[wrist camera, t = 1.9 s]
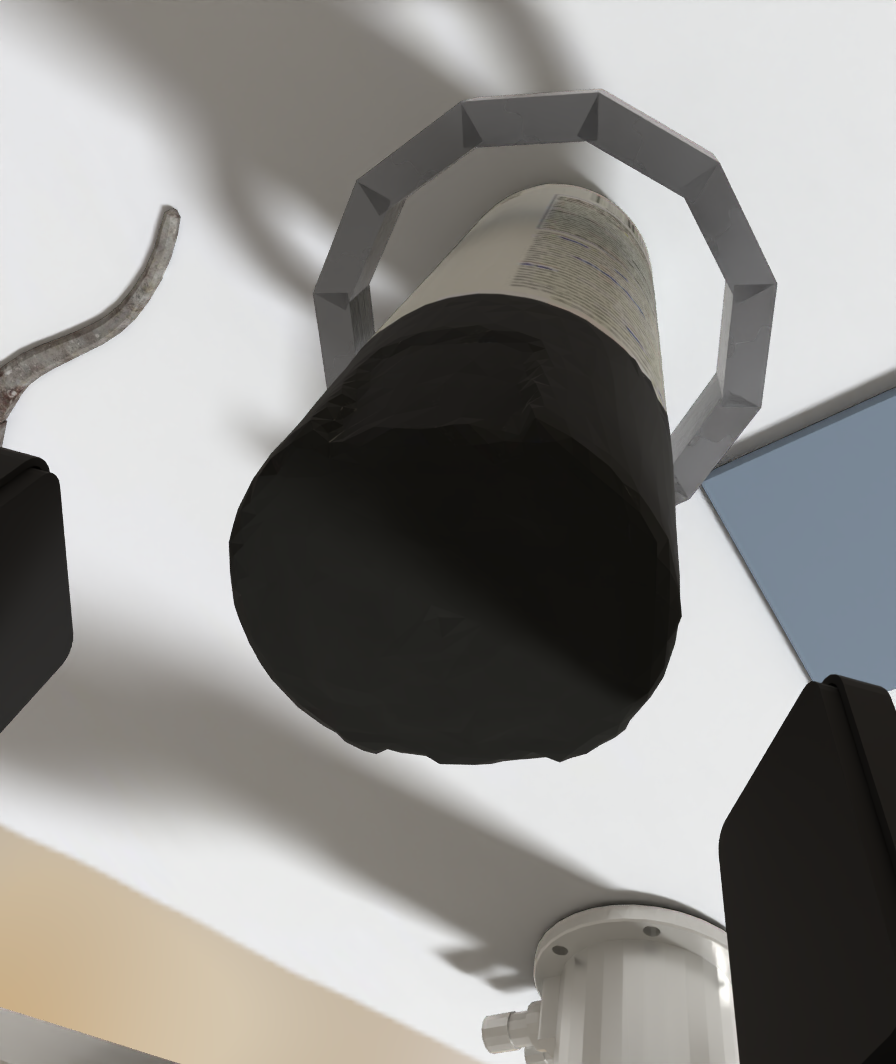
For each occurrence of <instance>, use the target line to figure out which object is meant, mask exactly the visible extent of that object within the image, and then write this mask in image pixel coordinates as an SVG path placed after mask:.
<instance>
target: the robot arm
mask: <svg viewBox="0 0 896 1064" xmlns="http://www.w3.org/2000/svg"><path fill="white" fill-rule="evenodd" d="M72 642H73V627H72V616H71V604H70V593H69V582H68V571H67V559H66V548H65V537H64V526H63V514H62V503H61V492H60V484H59V480H58V478H57V476H56V475H55V474H53V473H50V471H49V467H48V465H47V463H46V462H45V461H44V460H43V459H41V458H39V457H36V456H32V455H28V454H25V453H21V452H17V451H14V450H10V449H6V448H3V447H0V733H1V732H2V731H3V730H4V728H5V727H6V726H7V725H8V724H9V723H10V722H11V721H12V720H13V718H14V717H15V716H16V715H17V714H18V713H19V712H20V711H21V710H22V708H23V707H24V706H25V705H26V704H27V703H28V702H29V701H30V700H31V698H32V697H33V696H34V695H35V694H36V693H37V692H38V691H39V690H40V688H41V687H42V686H43V685H44V684H45V683H46V682H47V681H48V680H49V679H50V677H51V676H52V675H53V674H54V673H55V672H56V671H57V670H58V669H59V667H60V666H61V665H62V664H63V663H64V661H65V660H66V658H67V656H68V654H69V652H70V649H71V647H72ZM719 862H720V872H721V882H722V892H723V902H724V912H725V922H726V932H727V933H726V932H725V931H724V930H722V929H720V928H718V927H716V926H714V925H712V924H710V923H708V922H706V921H704V920H702V919H700V918H697V917H694V916H691V915H688V914H686V913H683V912H679V911H675V910H670V909H666V908H661V907H655V906H645V905H635V904H634V905H609V906H603V907H596V908H591V909H588V910H585V911H582V912H578V913H575V914H573V915H571V916H569V917H567V918H565V919H563V920H561V921H559V922H558V923H556V924H555V925H554V926H553V927H552V928H550V929H549V930H548V931H547V932H546V933H545V935H544V936H543V937H542V939H541V940H540V942H539V943H538V947H537V950H536V953H535V961H534V971H533V976H534V982H535V987H536V989H537V991H538V993H539V995H540V997H541V999H542V1000H540V1001H534V1002H532V1003H531V1004H530V1005H529V1006H528V1010H527V1011H521V1012H515V1011H514V1012H508V1013H502V1014H497V1015H491V1016H486V1017H485V1019H484V1020H483V1024H482V1038H483V1042H484V1045H485V1047H486V1049H487V1050H488V1051H489V1053H493V1054H496V1053H502V1052H509V1051H515V1050H520V1049H521V1048H522V1047H525V1049H524V1052H525V1060H526V1063H527V1064H896V710H895V707H894V705H893V702H892V699H891V697H890V695H889V693H888V691H887V690H886V689H885V688H883V687H881V686H878V685H874V684H870V683H867V682H863V681H859V680H856V679H852V678H848V677H845V676H841V675H837V674H830V675H829V676H828V677H826V678H825V679H824V680H823V682H822V683H819V682H816V681H811V682H809V683H808V684H807V685H806V686H805V688H804V689H803V691H802V692H801V694H800V696H799V697H798V699H797V701H796V702H795V704H794V706H793V707H792V709H791V711H790V712H789V714H788V716H787V717H786V719H785V721H784V723H783V724H782V726H781V728H780V729H779V731H778V733H777V734H776V736H775V738H774V739H773V741H772V743H771V744H770V746H769V748H768V749H767V751H766V753H765V755H764V756H763V758H762V760H761V761H760V763H759V765H758V766H757V768H756V770H755V771H754V773H753V775H752V776H751V778H750V780H749V781H748V783H747V785H746V787H745V788H744V790H743V792H742V793H741V795H740V797H739V798H738V800H737V802H736V803H735V805H734V807H733V808H732V810H731V812H730V813H729V815H728V817H727V819H726V820H725V822H724V824H723V827H722V830H721V834H720V839H719ZM0 1064H179V1063H175V1062H172V1061H169V1060H166V1059H163V1058H160V1057H157V1056H154V1055H150V1054H147V1053H144V1052H141V1051H138V1050H134V1049H132V1048H128V1047H125V1046H122V1045H119V1044H116V1043H112V1042H109V1041H106V1040H103V1039H100V1038H97V1037H94V1036H90V1035H87V1034H84V1033H81V1032H78V1031H75V1030H72V1029H68V1028H65V1027H62V1026H59V1025H56V1024H53V1023H50V1022H46V1021H43V1020H40V1019H37V1018H33V1017H30V1016H27V1015H24V1014H21V1013H18V1012H14V1011H11V1010H8V1009H5V1008H1V1007H0Z"/></svg>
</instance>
